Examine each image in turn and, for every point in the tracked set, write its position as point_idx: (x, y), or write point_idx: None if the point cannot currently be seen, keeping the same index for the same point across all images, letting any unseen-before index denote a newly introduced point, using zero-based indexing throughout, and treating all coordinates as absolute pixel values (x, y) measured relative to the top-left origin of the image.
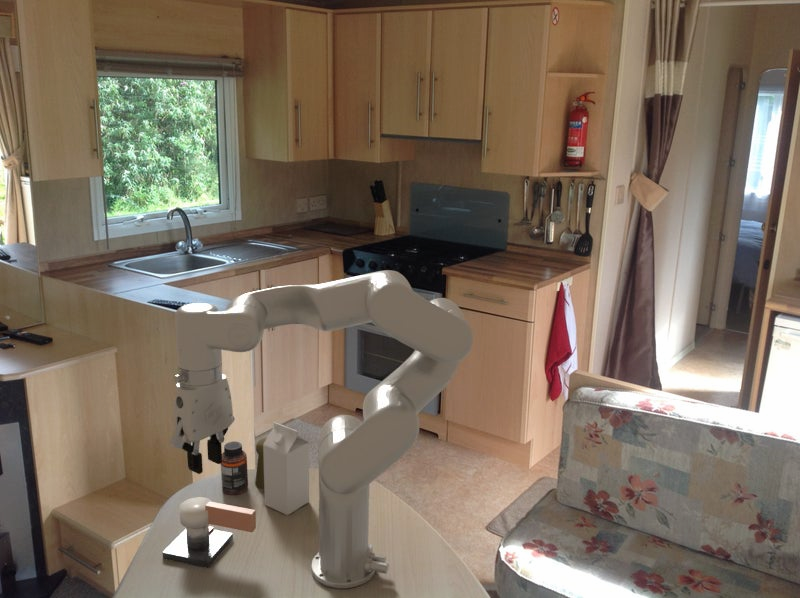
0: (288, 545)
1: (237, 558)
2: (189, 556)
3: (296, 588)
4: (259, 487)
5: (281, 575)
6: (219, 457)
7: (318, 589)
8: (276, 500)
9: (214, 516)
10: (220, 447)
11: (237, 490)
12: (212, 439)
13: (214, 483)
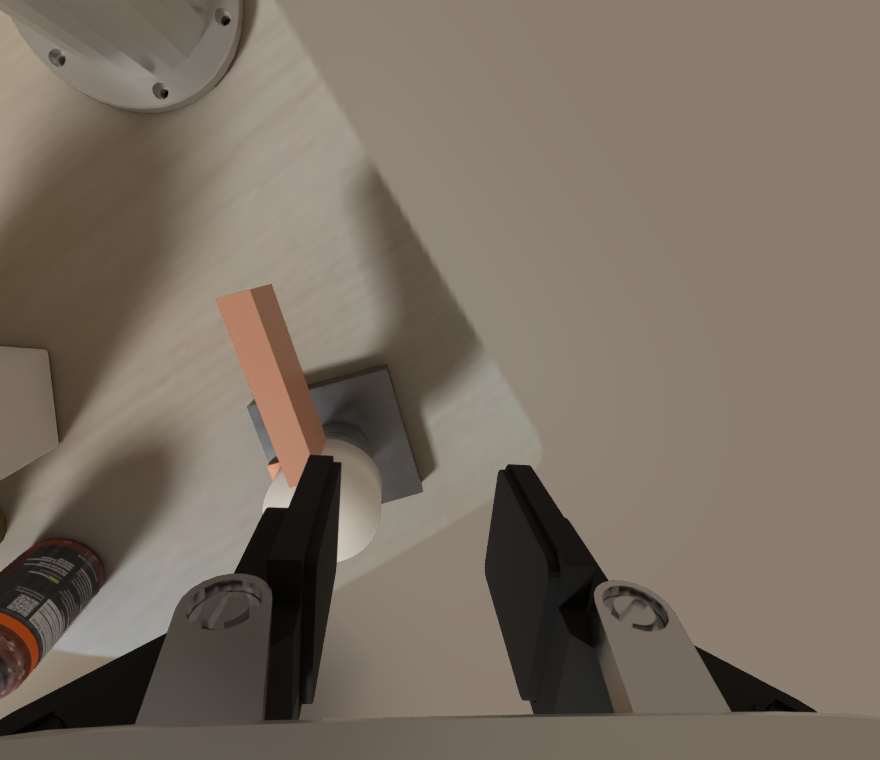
0: (163, 243)
1: (308, 329)
2: (397, 425)
3: (307, 80)
4: (2, 521)
5: (288, 164)
6: (324, 483)
7: (268, 9)
8: (26, 407)
9: (313, 431)
10: (290, 535)
11: (73, 551)
12: (290, 689)
13: (91, 630)
